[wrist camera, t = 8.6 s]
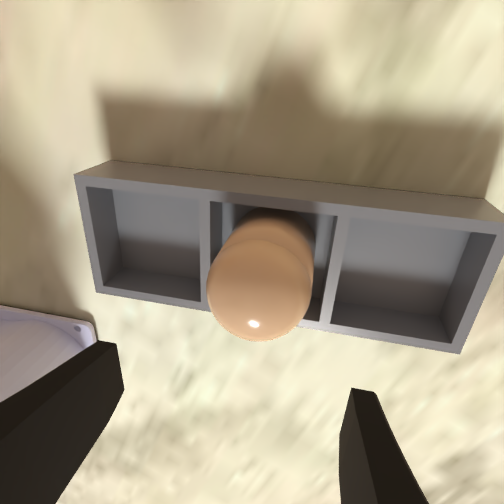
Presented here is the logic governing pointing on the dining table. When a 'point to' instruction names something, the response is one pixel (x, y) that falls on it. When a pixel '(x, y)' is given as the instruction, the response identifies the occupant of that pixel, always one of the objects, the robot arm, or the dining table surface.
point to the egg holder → (326, 252)
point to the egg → (263, 275)
